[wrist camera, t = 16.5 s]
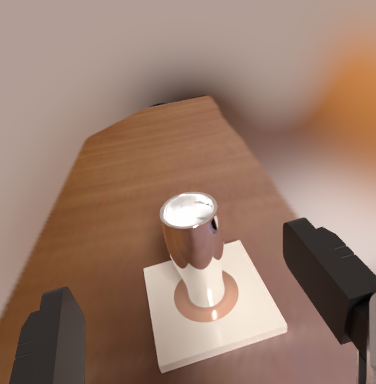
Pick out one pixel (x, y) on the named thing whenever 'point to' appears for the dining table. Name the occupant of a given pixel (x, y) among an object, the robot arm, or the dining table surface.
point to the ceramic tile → (210, 321)
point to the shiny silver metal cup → (196, 248)
